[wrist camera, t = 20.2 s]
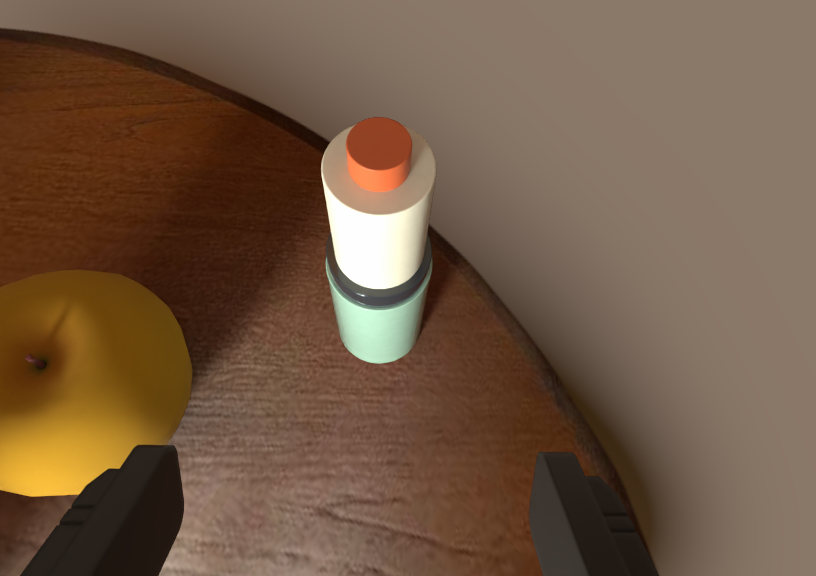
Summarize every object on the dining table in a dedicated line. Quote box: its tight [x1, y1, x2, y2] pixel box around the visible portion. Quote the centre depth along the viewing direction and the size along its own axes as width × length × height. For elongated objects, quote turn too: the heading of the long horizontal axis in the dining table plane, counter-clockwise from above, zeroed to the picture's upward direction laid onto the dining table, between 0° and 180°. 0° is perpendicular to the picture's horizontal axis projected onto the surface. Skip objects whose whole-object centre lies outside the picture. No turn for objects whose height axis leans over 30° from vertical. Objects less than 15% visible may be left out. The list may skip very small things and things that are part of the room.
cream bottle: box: [321, 117, 437, 289], centre depth 26 cm, size 5×5×9 cm
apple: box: [0, 269, 193, 497], centre depth 33 cm, size 13×13×11 cm
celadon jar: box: [326, 232, 432, 363], centre depth 36 cm, size 6×6×12 cm
